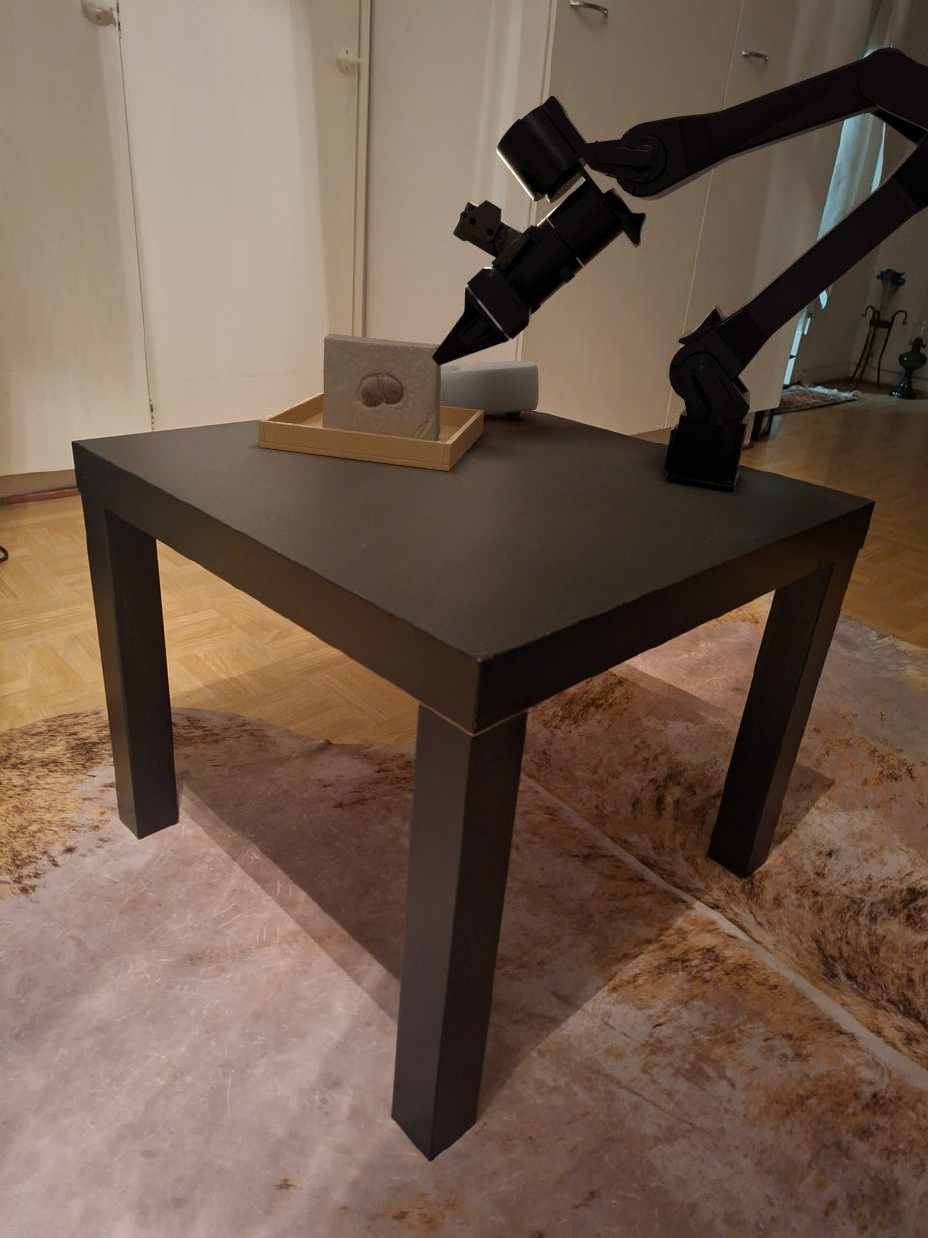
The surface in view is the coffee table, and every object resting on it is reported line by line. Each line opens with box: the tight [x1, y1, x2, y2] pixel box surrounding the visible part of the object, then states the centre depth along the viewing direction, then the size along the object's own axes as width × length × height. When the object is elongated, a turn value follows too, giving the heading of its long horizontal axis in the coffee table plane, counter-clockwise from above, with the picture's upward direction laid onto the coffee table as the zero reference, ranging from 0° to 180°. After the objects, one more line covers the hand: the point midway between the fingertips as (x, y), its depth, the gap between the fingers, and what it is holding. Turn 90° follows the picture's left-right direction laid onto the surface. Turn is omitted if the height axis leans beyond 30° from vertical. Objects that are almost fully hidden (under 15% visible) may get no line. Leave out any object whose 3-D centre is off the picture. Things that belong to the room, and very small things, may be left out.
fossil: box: [322, 333, 442, 441], centre depth 86 cm, size 12×4×10 cm, turn 82°
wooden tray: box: [257, 391, 485, 472], centre depth 88 cm, size 19×17×3 cm
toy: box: [440, 360, 540, 420], centre depth 101 cm, size 12×6×15 cm
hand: (442, 354), depth 84 cm, fingers open, 9 cm apart
